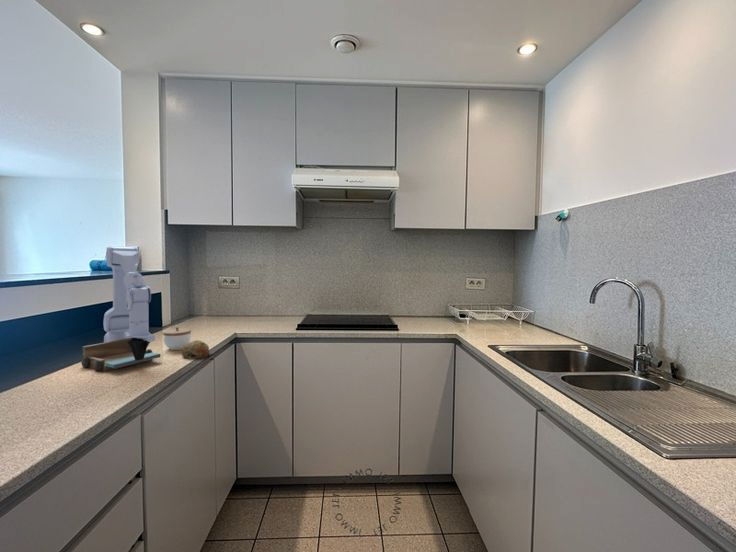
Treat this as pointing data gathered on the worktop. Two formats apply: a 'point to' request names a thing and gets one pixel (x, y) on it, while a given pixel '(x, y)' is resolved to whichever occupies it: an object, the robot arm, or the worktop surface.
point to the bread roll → (195, 350)
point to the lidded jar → (176, 338)
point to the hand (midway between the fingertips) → (139, 359)
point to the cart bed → (107, 354)
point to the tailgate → (131, 360)
